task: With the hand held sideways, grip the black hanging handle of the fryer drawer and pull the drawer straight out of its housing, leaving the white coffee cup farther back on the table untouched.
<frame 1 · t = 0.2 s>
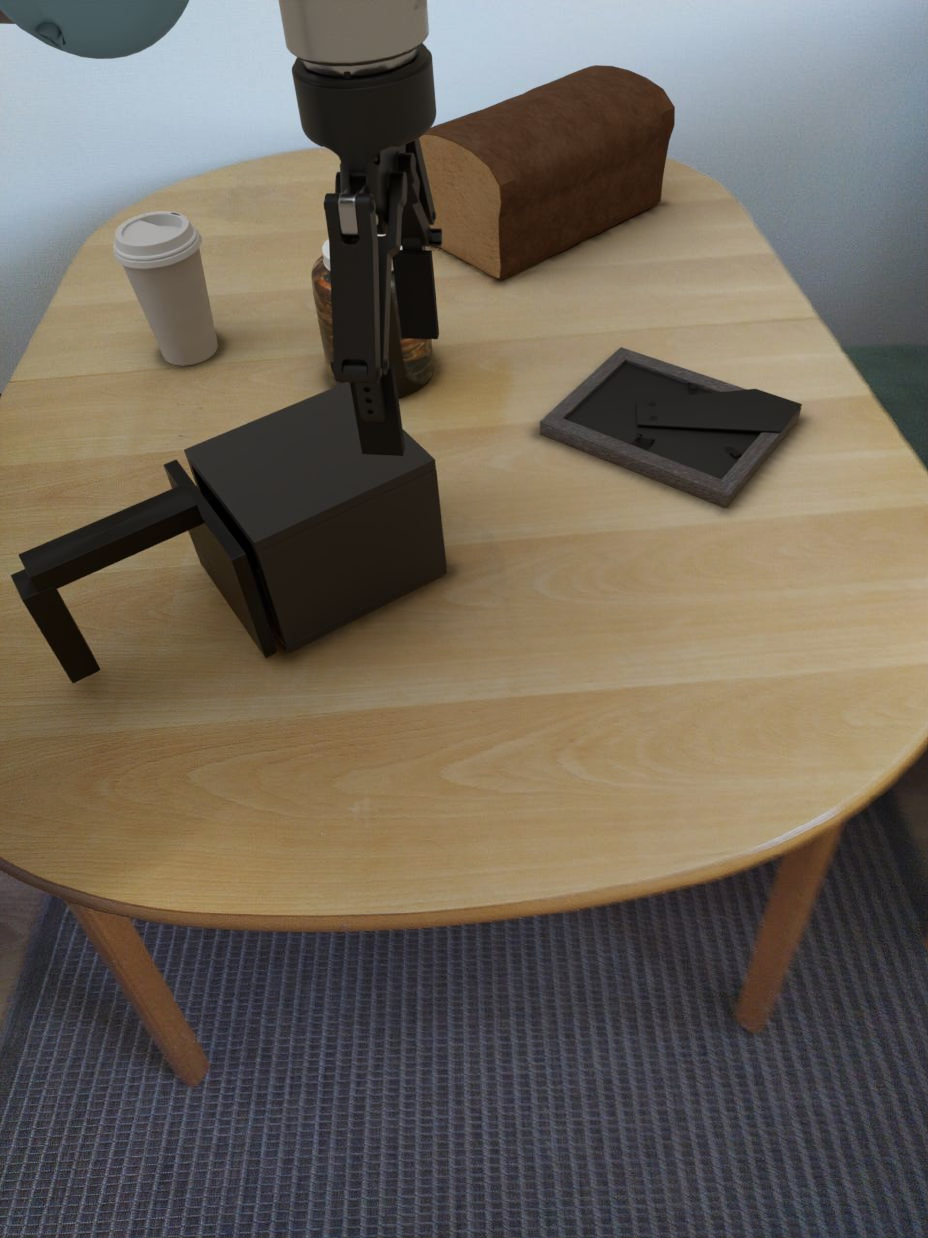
hand: (403, 390, 66), 22 cm above the table, tool pointing down, fingers open, 13 cm apart
picture frame: (668, 428, 97), on the table
jar: (381, 373, 107), on the table
coffee cup: (191, 351, 113), on the table
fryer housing: (333, 566, 87), on the table
fryer drawer: (221, 550, 78), point 7 cm above the table, slide at 0.5 cm
bread: (543, 224, 128), on the table
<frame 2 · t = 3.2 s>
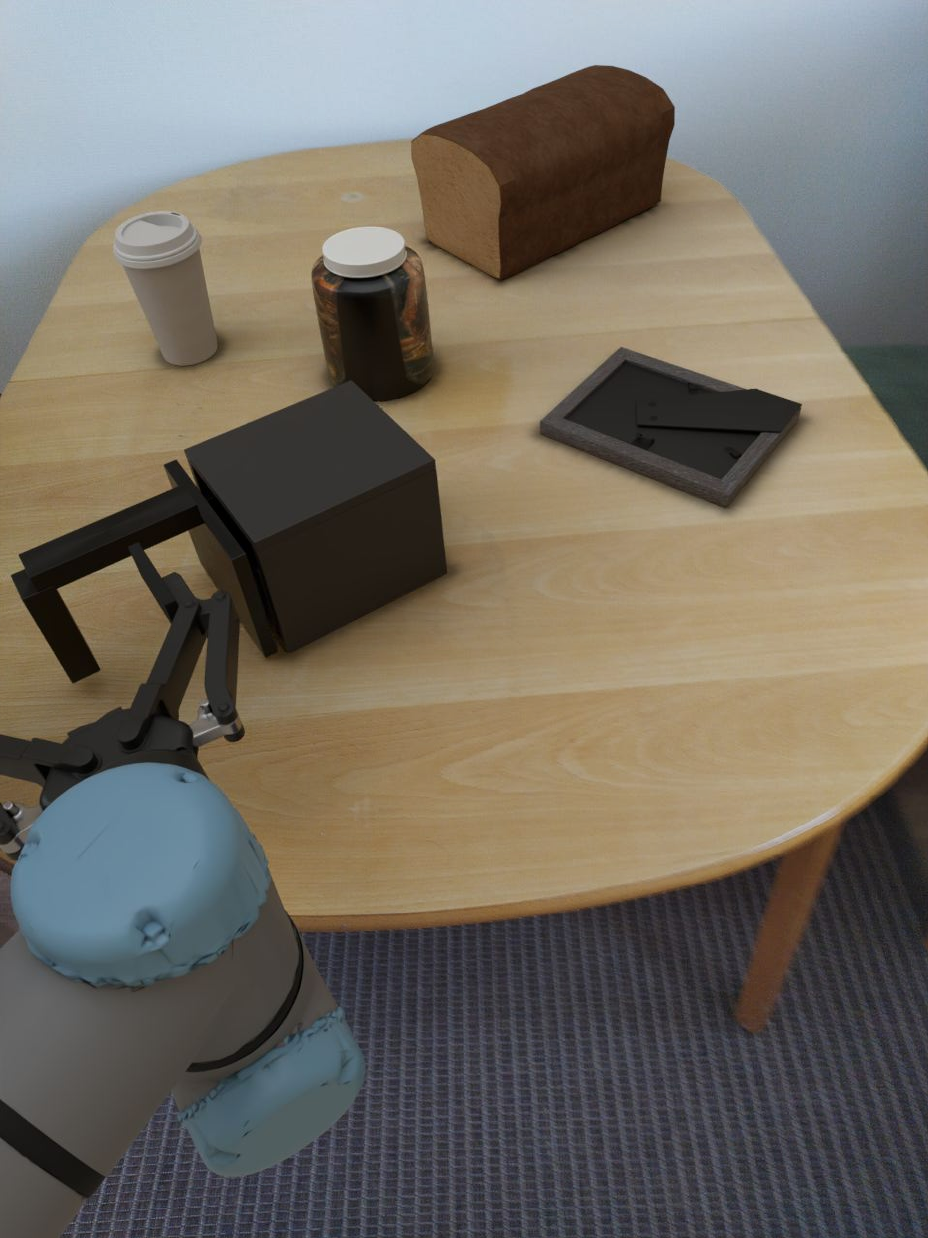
hand: (38, 604, 60), 18 cm above the table, tool horizontal, fingers open, 13 cm apart
nothing on the table moved.
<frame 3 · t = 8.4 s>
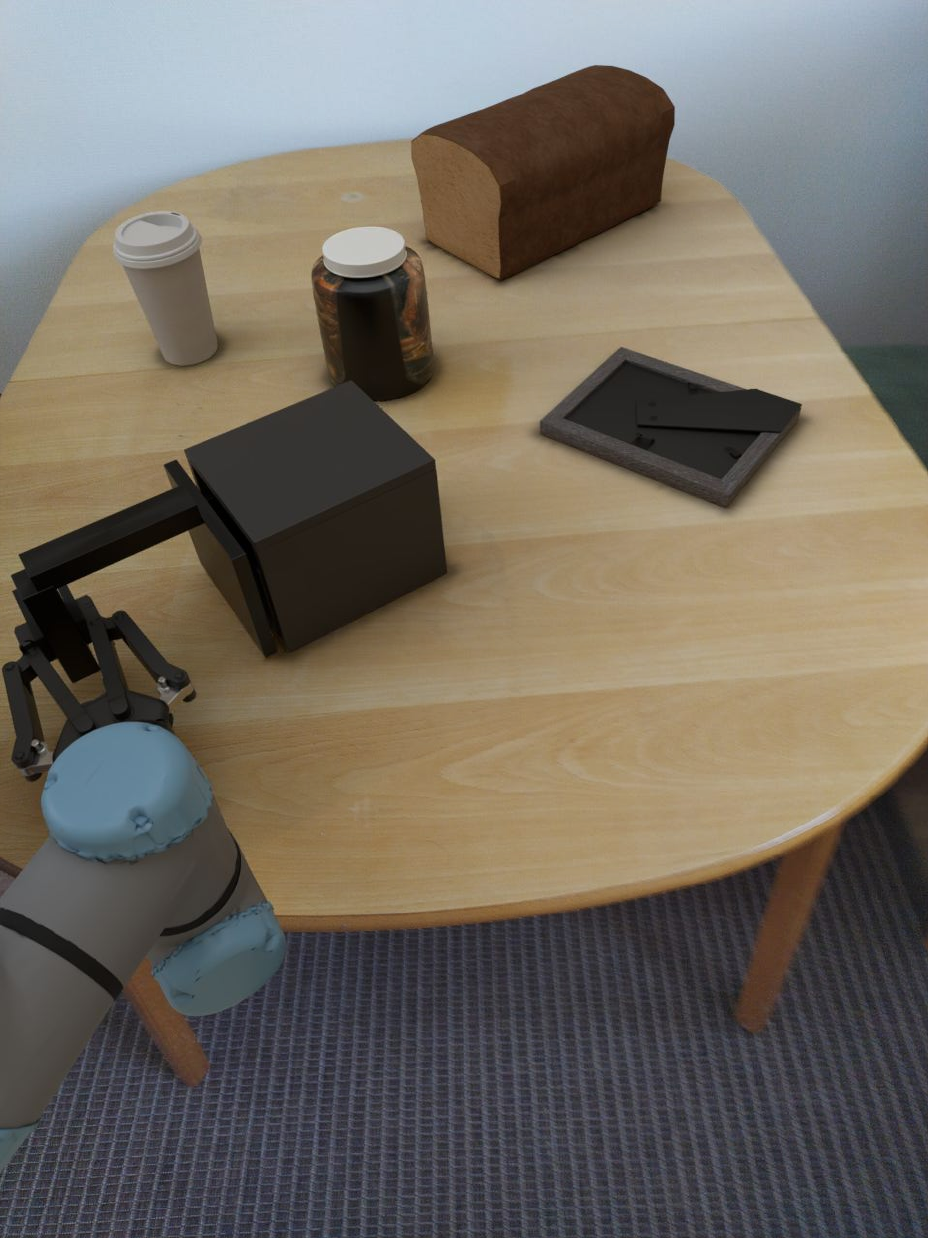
hand: (42, 592, 77), 6 cm above the table, tool horizontal, fingers closed on fryer drawer, 2 cm apart
fryer drawer: (221, 550, 78), point 7 cm above the table, slide at 0.5 cm, touching gripper
everything else where it was.
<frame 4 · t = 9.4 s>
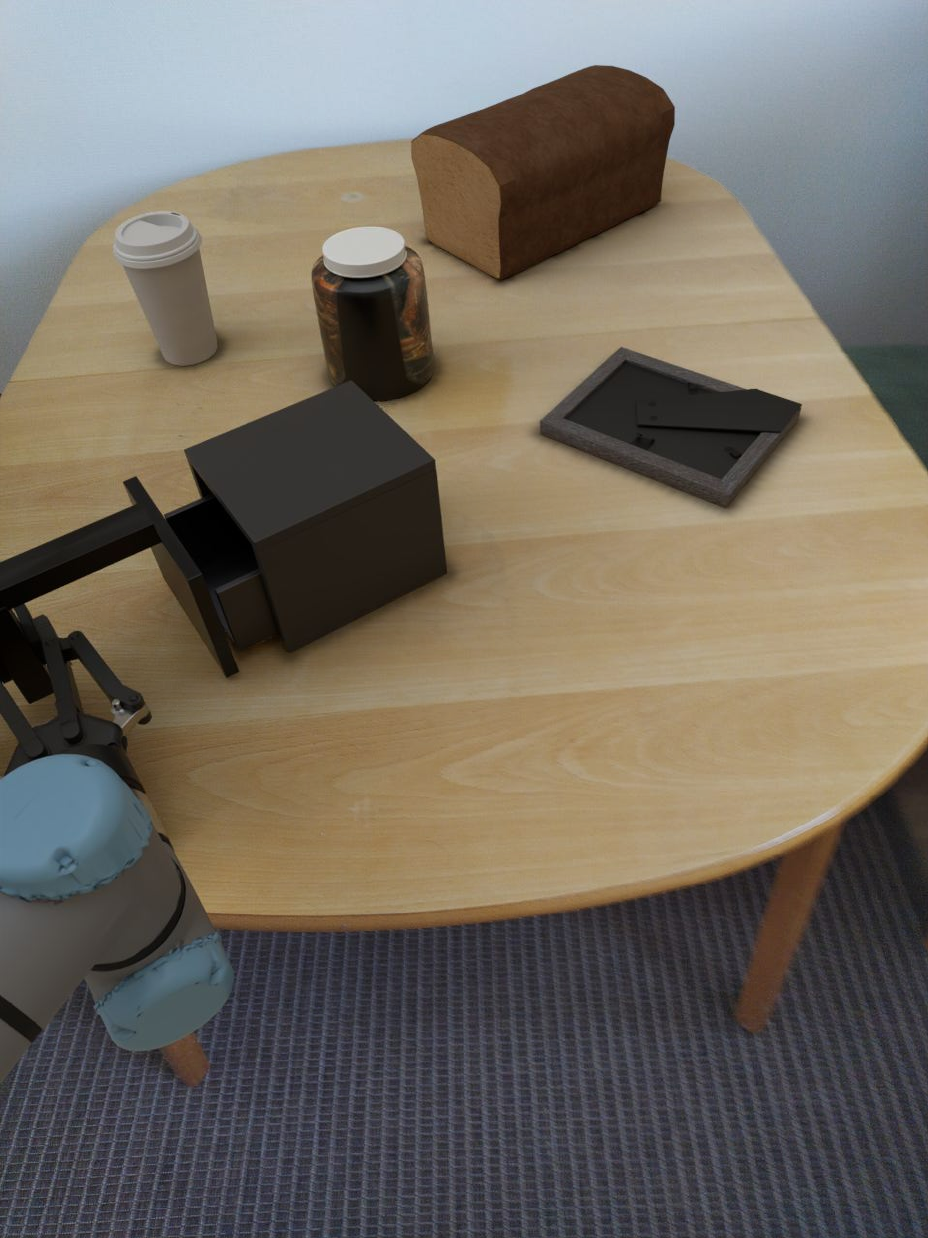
fryer drawer: (181, 569, 77), point 7 cm above the table, slide at 4.0 cm, touching gripper
everything else where it was.
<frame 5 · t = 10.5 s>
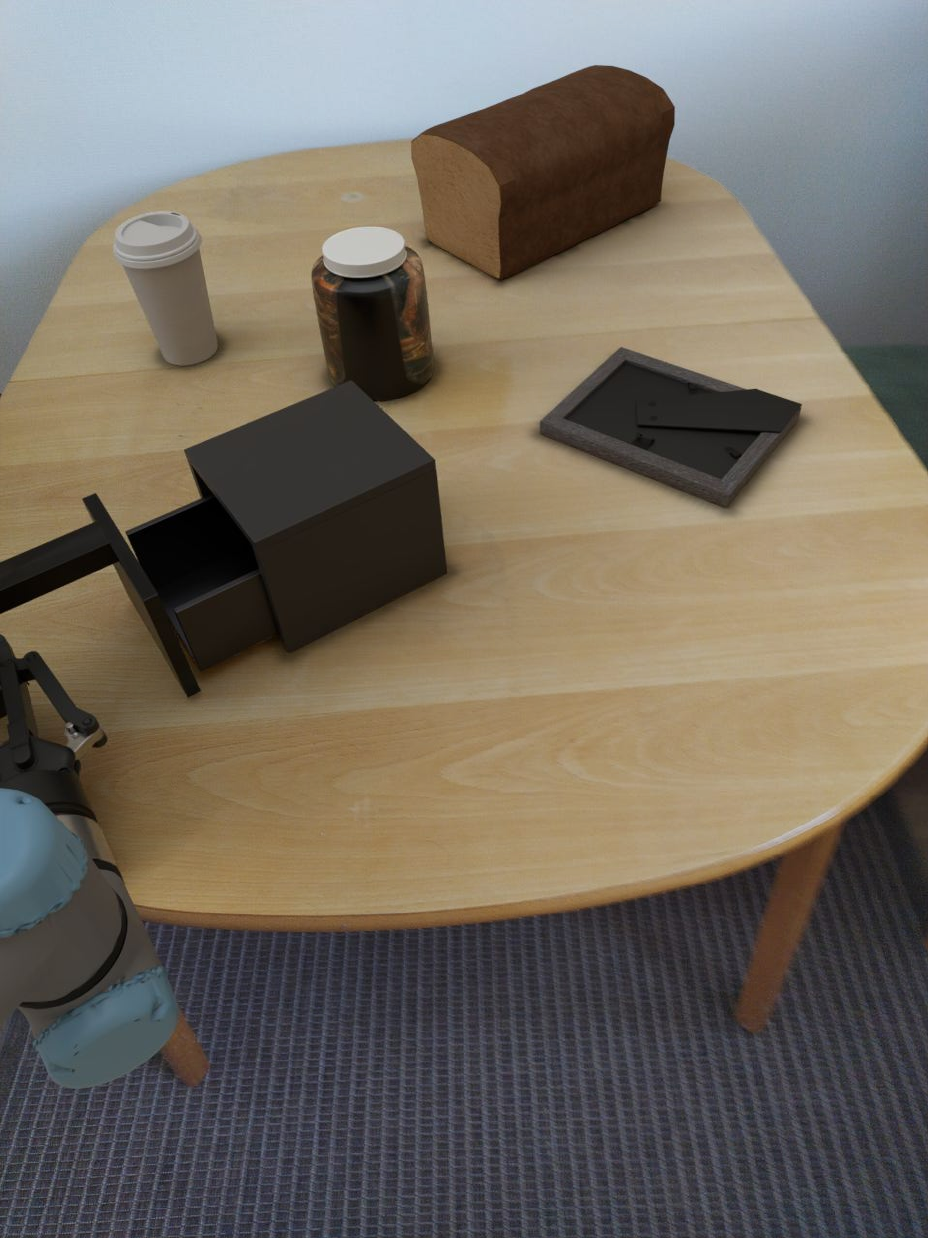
fryer drawer: (141, 587, 76), point 7 cm above the table, slide at 7.5 cm, touching gripper
everything else where it was.
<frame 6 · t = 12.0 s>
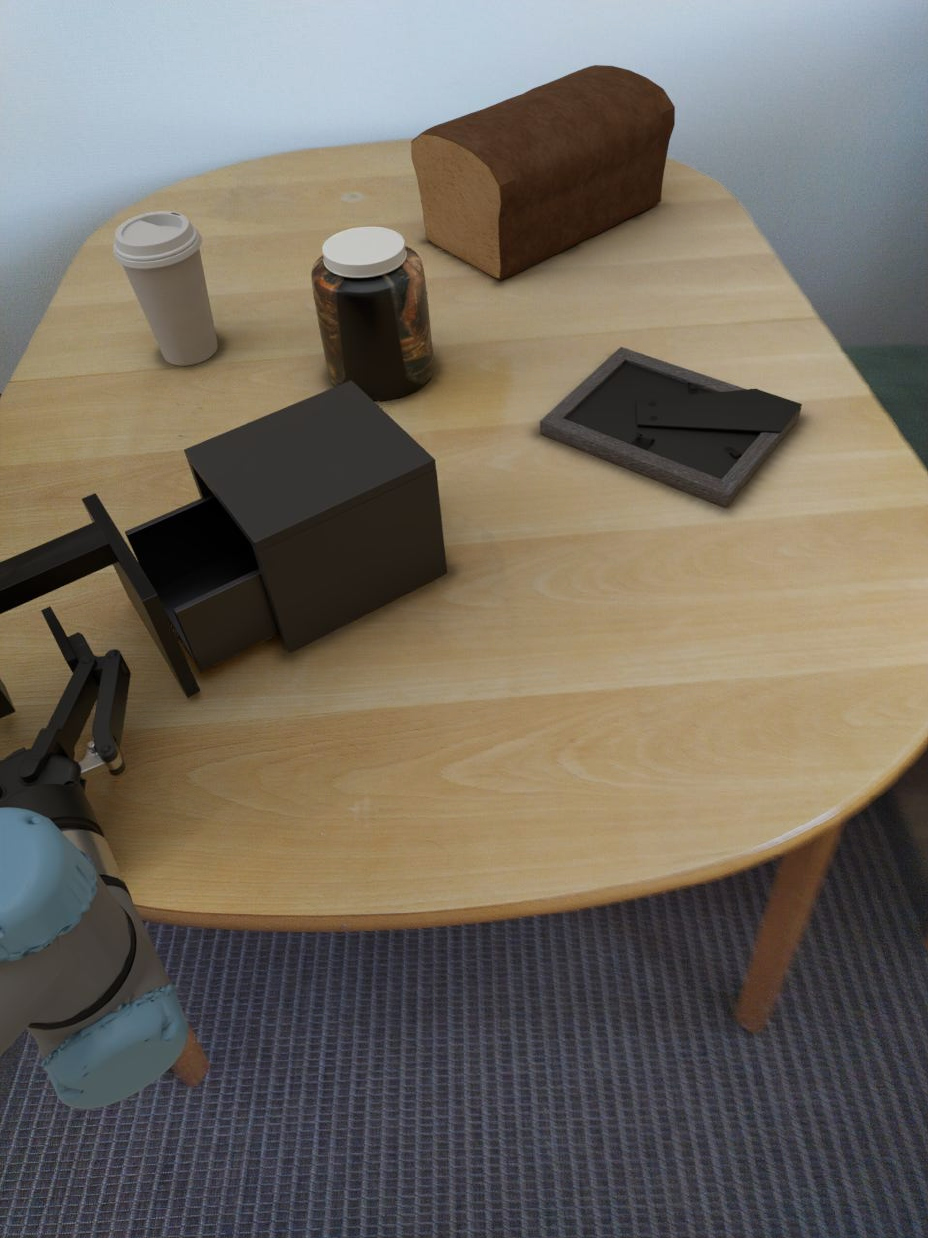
fryer drawer: (141, 587, 76), point 7 cm above the table, slide at 7.5 cm
everything else where it was.
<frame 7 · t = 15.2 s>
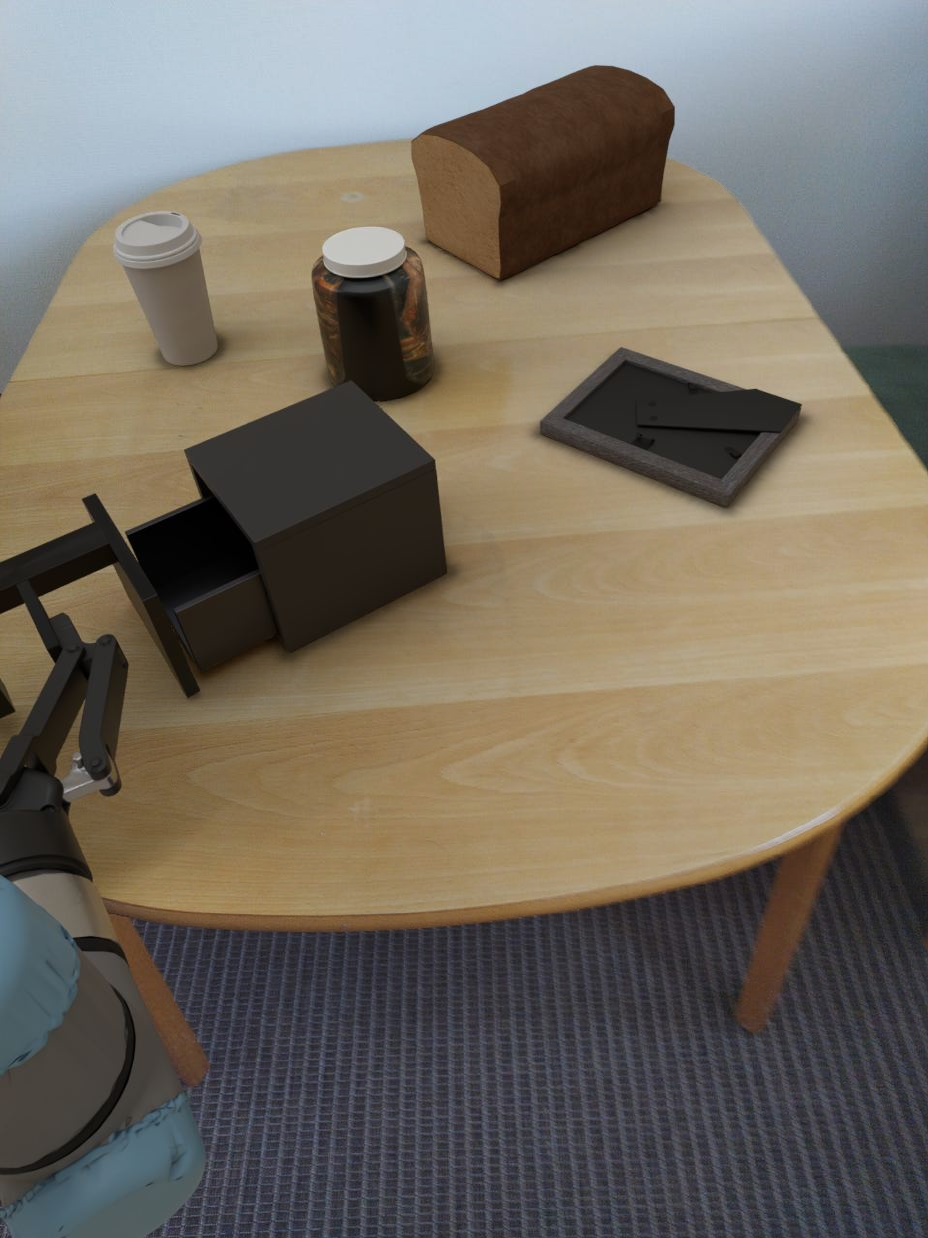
nothing on the table moved.
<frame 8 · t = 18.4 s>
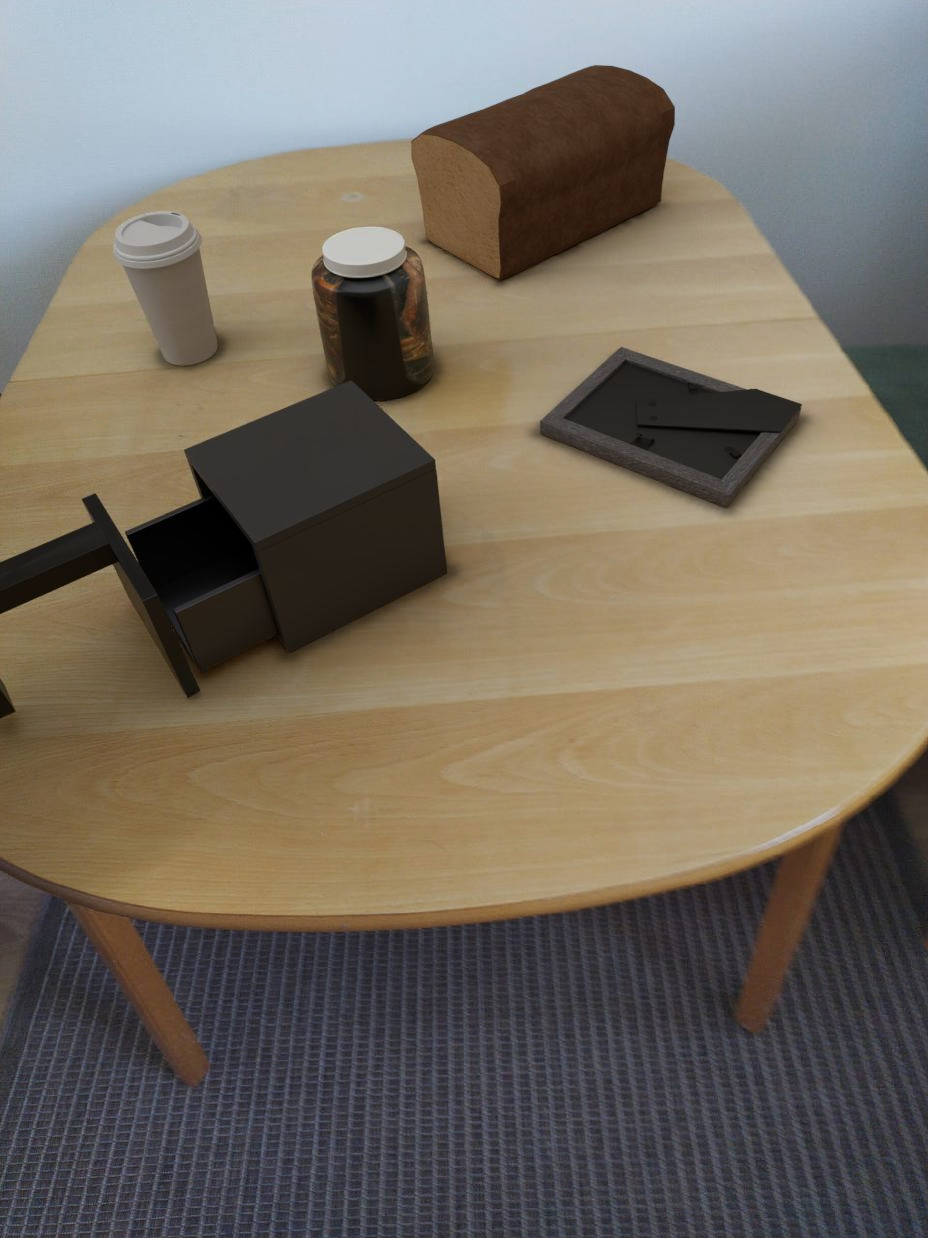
nothing on the table moved.
at the end: fryer drawer slide at 7.5 cm; coffee cup moved 0.2 cm from its start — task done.
